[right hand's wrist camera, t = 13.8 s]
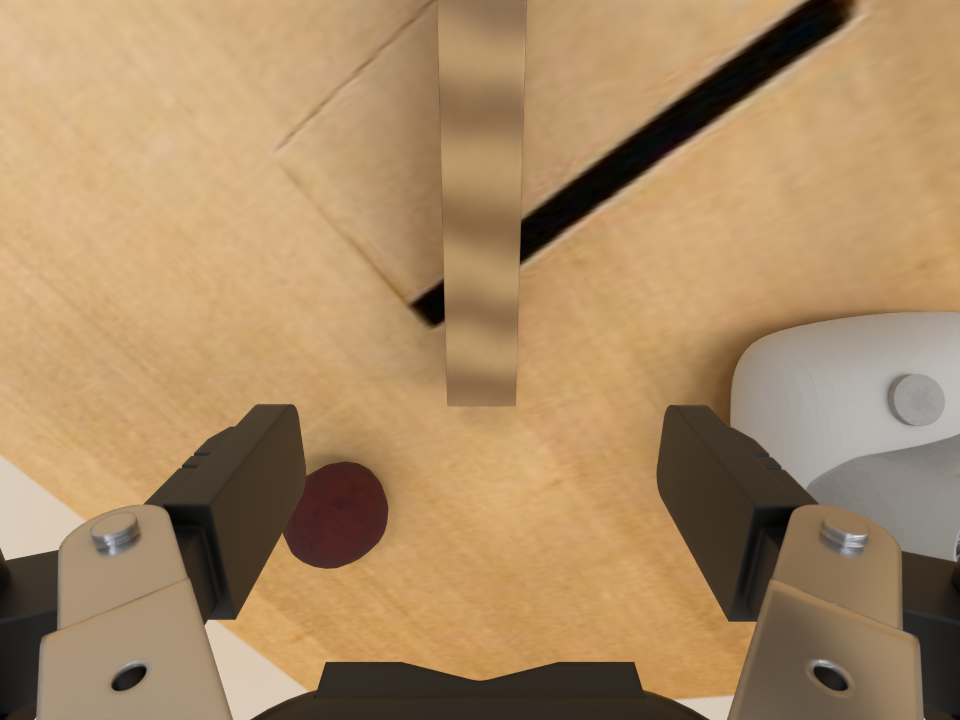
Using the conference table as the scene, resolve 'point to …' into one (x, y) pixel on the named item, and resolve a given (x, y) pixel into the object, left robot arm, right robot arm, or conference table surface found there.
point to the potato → (337, 516)
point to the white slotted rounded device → (864, 418)
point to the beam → (481, 193)
